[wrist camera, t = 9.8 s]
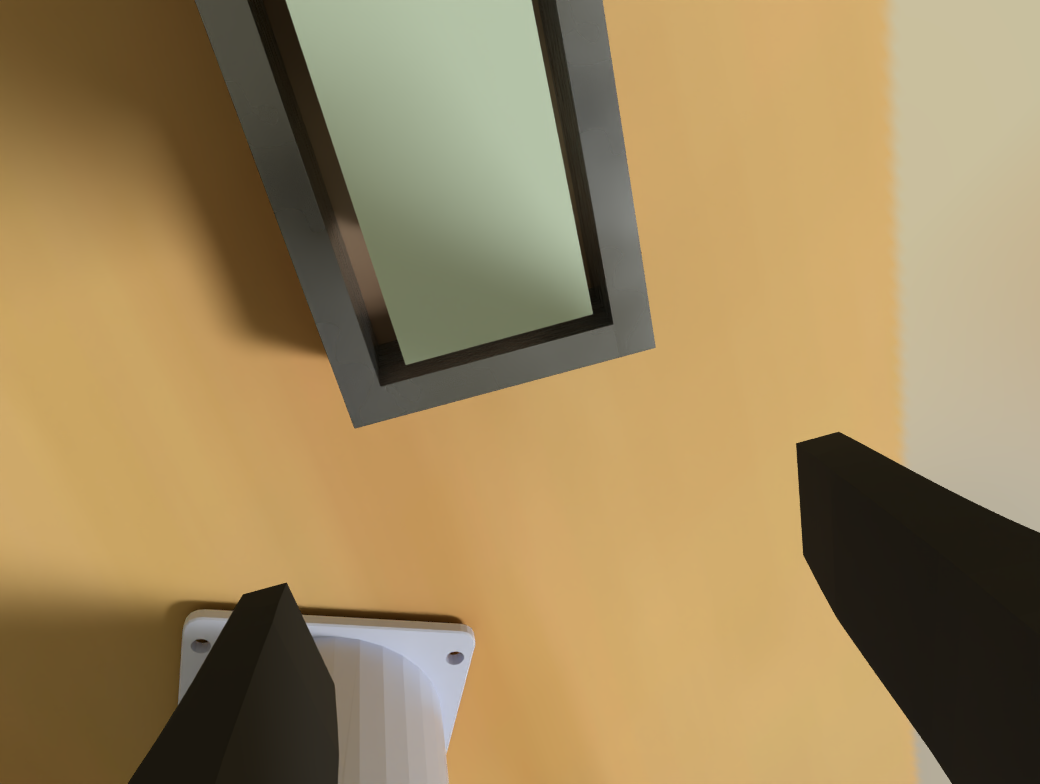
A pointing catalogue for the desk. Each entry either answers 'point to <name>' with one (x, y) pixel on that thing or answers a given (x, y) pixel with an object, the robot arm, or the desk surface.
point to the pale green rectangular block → (449, 164)
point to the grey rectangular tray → (340, 243)
